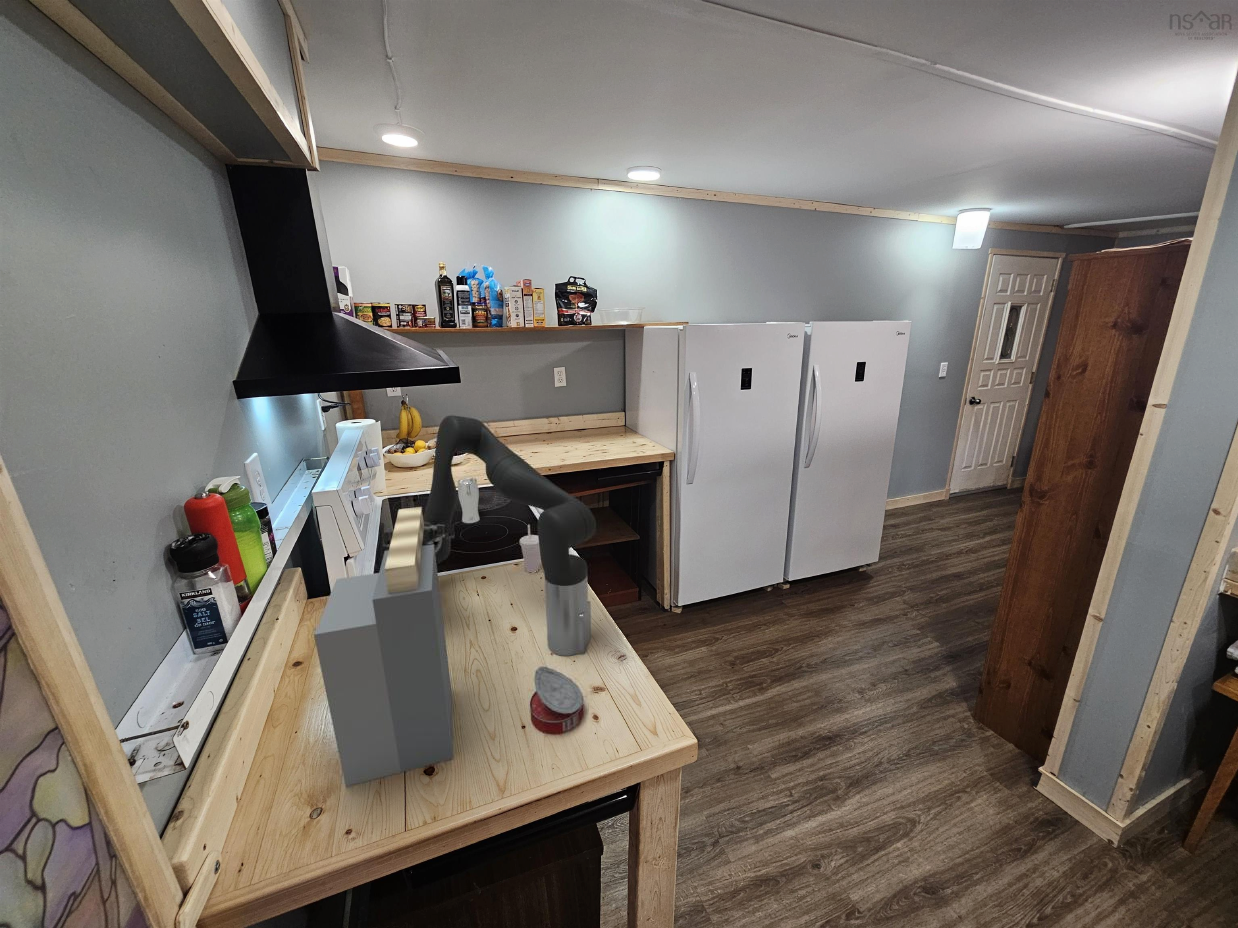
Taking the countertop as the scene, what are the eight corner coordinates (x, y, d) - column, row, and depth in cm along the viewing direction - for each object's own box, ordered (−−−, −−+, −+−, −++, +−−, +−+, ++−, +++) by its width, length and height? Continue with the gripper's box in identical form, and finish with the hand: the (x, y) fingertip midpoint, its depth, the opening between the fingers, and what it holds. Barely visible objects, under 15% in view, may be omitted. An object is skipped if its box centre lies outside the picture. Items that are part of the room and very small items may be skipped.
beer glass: (460, 524, 174) (456, 484, 169) (461, 517, 180) (457, 478, 176) (481, 522, 175) (477, 482, 171) (480, 515, 182) (477, 476, 178)
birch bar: (401, 528, 94) (398, 509, 93) (424, 526, 95) (421, 506, 94) (388, 593, 72) (384, 569, 71) (417, 588, 73) (414, 564, 72)
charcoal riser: (361, 712, 92) (332, 557, 82) (451, 692, 97) (434, 544, 87) (345, 786, 77) (308, 609, 68) (452, 758, 82) (431, 590, 73)
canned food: (552, 713, 98) (564, 661, 99) (589, 734, 91) (601, 679, 93) (508, 721, 89) (522, 664, 91) (546, 745, 83) (560, 684, 84)
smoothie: (533, 562, 147) (531, 519, 143) (548, 569, 143) (546, 524, 139) (516, 570, 143) (513, 526, 139) (531, 577, 139) (528, 532, 135)
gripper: (390, 527, 114) (377, 518, 99) (454, 519, 119) (451, 509, 103) (392, 560, 113) (379, 555, 98) (457, 551, 117) (454, 545, 102)
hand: (416, 531), depth 101 cm, fingers open, 8 cm apart
